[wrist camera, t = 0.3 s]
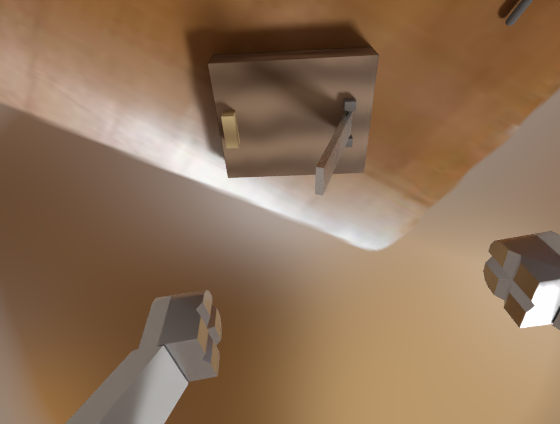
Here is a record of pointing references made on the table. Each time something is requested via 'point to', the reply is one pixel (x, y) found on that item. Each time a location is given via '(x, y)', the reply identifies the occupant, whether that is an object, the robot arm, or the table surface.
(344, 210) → the table surface
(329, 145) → the strap
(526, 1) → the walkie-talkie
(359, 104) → the base
